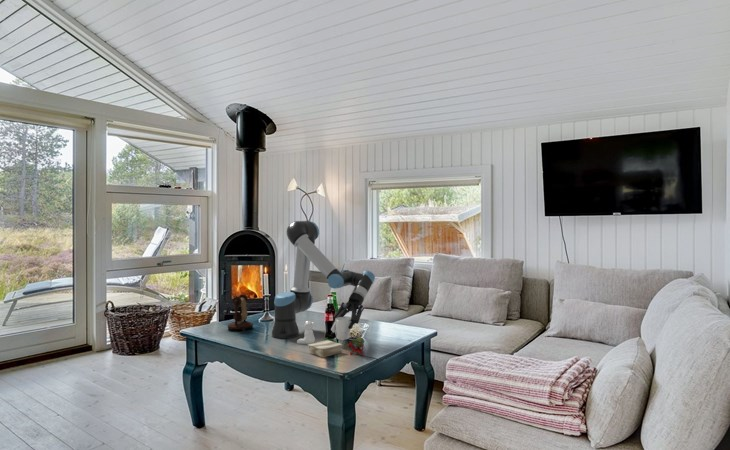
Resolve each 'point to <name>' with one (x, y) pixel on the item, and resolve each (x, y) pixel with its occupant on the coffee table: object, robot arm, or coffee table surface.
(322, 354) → the birch stand
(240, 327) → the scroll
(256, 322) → the coffee table surface
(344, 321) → the white cup
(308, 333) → the sitting furry creature
